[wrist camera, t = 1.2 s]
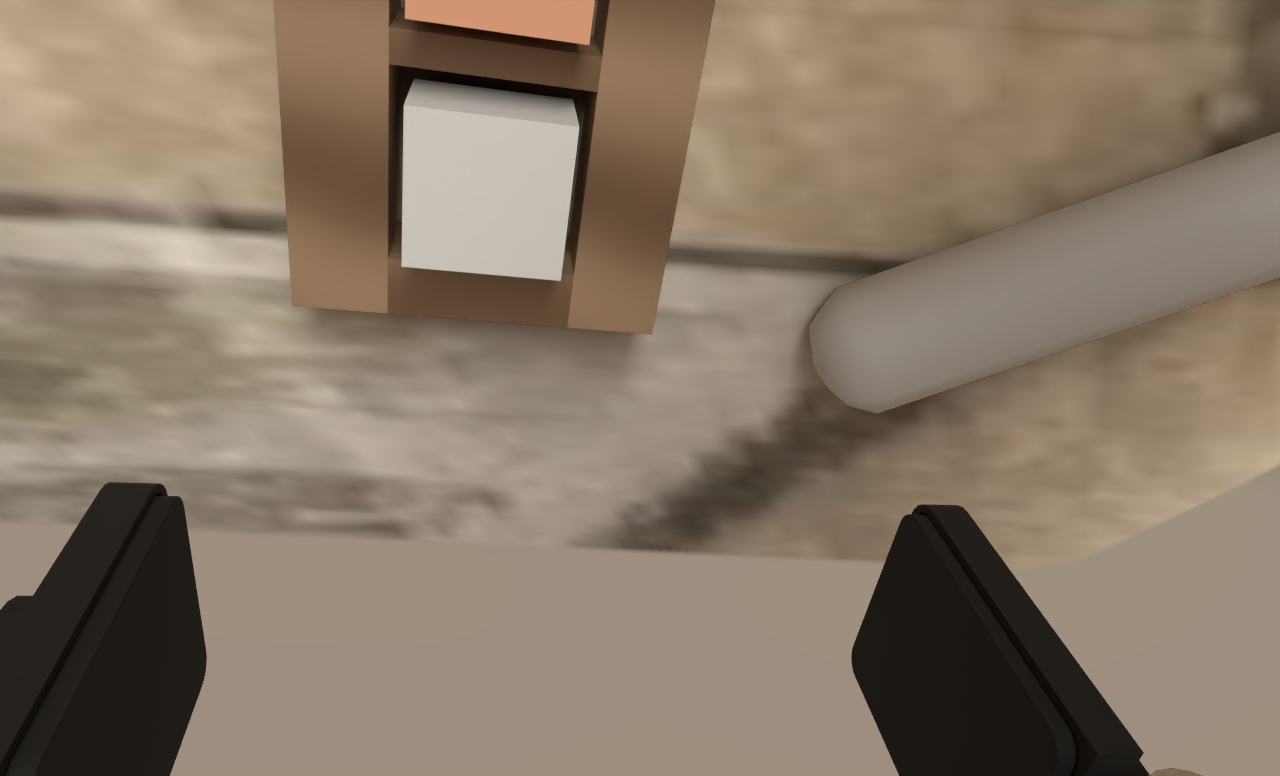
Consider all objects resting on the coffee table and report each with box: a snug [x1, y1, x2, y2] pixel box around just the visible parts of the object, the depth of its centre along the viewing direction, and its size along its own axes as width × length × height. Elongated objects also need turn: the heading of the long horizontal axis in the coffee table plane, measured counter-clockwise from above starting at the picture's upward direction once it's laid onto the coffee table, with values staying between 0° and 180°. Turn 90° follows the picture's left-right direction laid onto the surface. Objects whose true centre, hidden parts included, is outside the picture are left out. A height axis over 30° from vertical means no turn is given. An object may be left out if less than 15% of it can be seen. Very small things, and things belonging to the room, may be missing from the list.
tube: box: [809, 132, 1280, 413], centre depth 32 cm, size 5×5×25 cm
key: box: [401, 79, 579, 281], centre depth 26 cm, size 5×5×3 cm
